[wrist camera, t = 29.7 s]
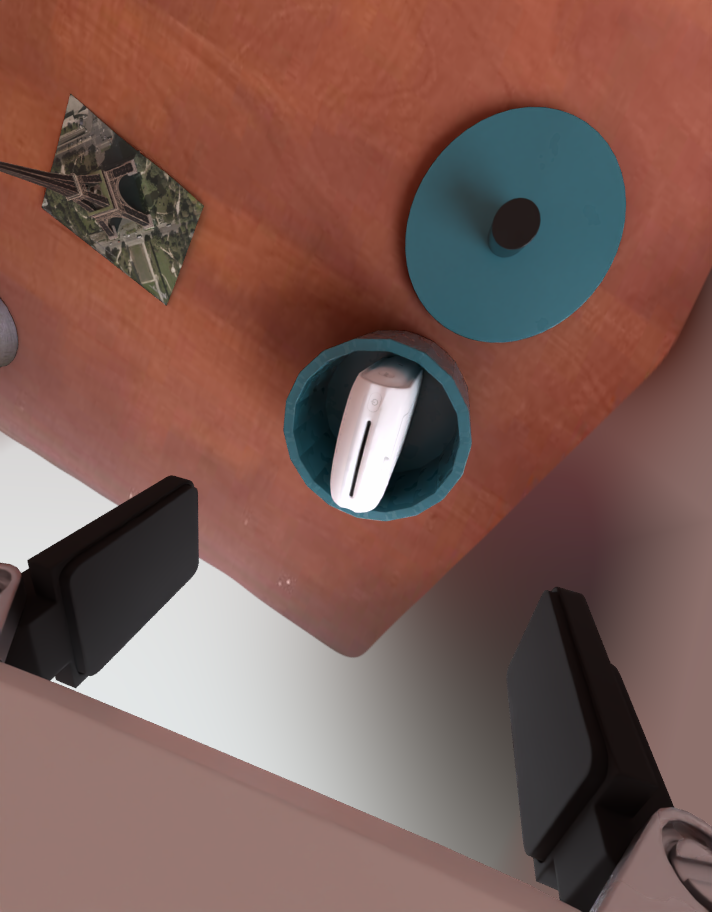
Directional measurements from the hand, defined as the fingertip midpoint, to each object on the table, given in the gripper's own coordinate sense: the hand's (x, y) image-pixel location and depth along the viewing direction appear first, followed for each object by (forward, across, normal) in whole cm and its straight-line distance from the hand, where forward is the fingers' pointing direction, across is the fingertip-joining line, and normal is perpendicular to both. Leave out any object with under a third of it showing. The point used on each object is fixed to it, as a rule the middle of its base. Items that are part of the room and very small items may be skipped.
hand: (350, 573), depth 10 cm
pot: (+27, +3, +3) cm, 27 cm away
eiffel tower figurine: (+27, +31, -10) cm, 42 cm away
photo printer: (+27, +3, +3) cm, 27 cm away
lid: (+27, -3, -12) cm, 29 cm away
